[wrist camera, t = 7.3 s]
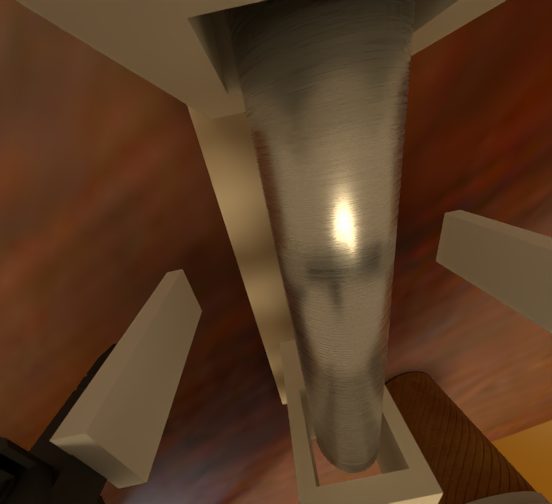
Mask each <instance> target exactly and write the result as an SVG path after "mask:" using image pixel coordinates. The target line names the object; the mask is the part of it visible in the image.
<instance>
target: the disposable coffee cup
mask: <svg viewBox="0 0 552 504" xmlns="http://www.w3.org/2000/svg"><path fill="white" fill-rule="evenodd" d="M385 386H386V388H387V390H388V391H389V393H390V395H391V397H392V399H393V401H394V403H395V404H396V406H397V408H398V410H399V412H400V414H401V415H402V417H403V419H404V421H405V423H406V425H407V427H408V428H409V430H410V432H411V434H412V436H413V438H414V439H415V441H416V443H417V445H418V447H419V449H420V451H421V452H422V454H423V456H424V458H425V460H426V462H427V463H428V465H429V467H430V469H431V471H432V473H433V475H434V476H435V478H436V480H437V482H438V484H439V486H440V487H441V489H442V491H443V495H442V497H441V499H440V501H439V503H438V504H551V503H549V501H548V500H547V499H546V498H545V497H544V496H543V495H542V494H541V493H538V492H536V491H535V490H534V489H533V487H532V486H530V484H529V483H528V482H527V481H526V480H525V479H524V478H523V477H522V476H521V475H520V474H519V472H518V471H517V470H516V469H515V468H514V467H513V466H512V465H511V464H510V463H509V462H508V461H507V459H506V458H505V457H504V456H503V455H502V454H501V453H500V452H499V451H498V450H497V448H496V447H495V446H494V445H493V444H492V443H491V442H490V441H489V440H488V439H487V438H486V437H485V436H484V435H483V434H482V432H481V431H480V430H479V429H478V428H477V427H476V426H475V425H474V424H473V423H472V422H471V421H470V419H469V418H468V417H467V416H466V415H465V414H464V413H463V412H462V411H461V410H460V409H459V408H458V407H457V405H456V404H455V403H454V402H453V401H452V400H451V399H450V398H449V397H448V396H447V395H446V393H445V392H444V391H443V390H442V389H441V388H440V387H439V386H438V385H437V384H436V383H435V382H434V380H433V379H432V378H431V377H430V376H429V375H427V374H425V373H421V372H411V373H406V374H403V375H400V376H397V377H396V378H394V379H392V380H391V381H389V382H388V383H387V384H386V385H385Z"/></svg>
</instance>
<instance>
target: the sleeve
mask: <svg viewBox="0 0 552 504" xmlns="http://www.w3.org/2000/svg"><path fill="white" fill-rule="evenodd" d="M280 348H281V356H282V365H283V373H284V381H285V389H286V397H287V406H288V414H289V422H290V430H291V439H292V447H293V455H294V463H295V471H296V480H297V488H298V496H299V504H438V503H439V501H440V499H441V497H442V495H443V491H442V489H441V487H440V486H439V484H438V482H437V480H436V478H435V476H434V475H433V473H432V471H431V469H430V467H429V465H428V463H427V462H426V460H425V458H424V456H423V454H422V452H421V451H420V449H419V447H418V445H417V443H416V441H415V439H414V438H413V436H412V434H411V432H410V430H409V428H408V427H407V425H406V423H405V421H404V419H403V417H402V415H401V414H400V412H399V410H398V408H397V406H396V404H395V403H394V401H393V399H392V397H391V395H390V393H389V391H388V390H387V388H386V386H385V384H384V395H383V408H382V420H381V432H380V445H379V452H378V455H377V458H376V459H377V462H378V464H379V467H380V469H381V472H382V474H380V475H375V476H370V477H365V478H360V479H355V480H350V481H344V482H339V483H334V484H329V485H324V486H320V484H319V479H318V474H317V468H316V463H315V458H314V452H313V447H312V442H311V440H312V439H316V436H315V431H314V426H313V422H312V417H311V412H310V408H309V403H308V398H307V394H306V389H305V384H304V380H303V375H302V370H301V366H300V361H299V357H298V352H297V347H296V343H295V340H291V341H287V342H282V343H280Z"/></svg>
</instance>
